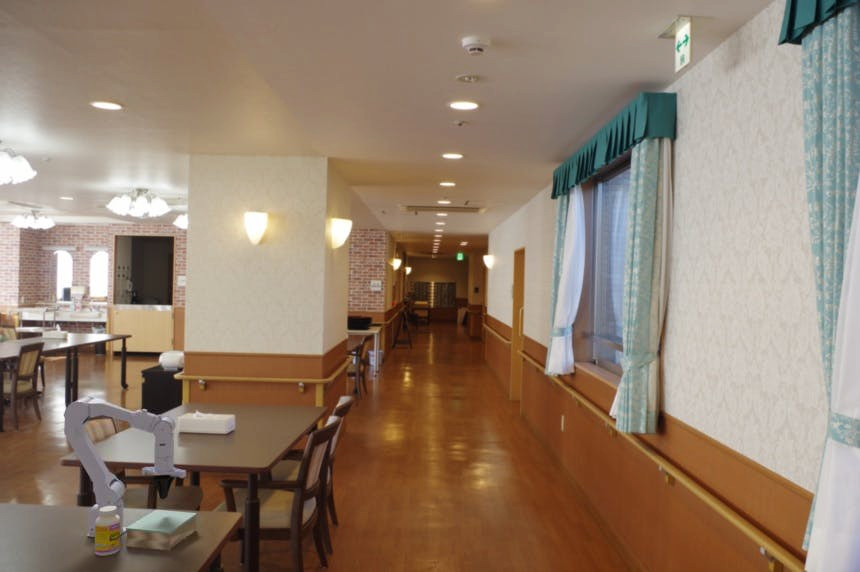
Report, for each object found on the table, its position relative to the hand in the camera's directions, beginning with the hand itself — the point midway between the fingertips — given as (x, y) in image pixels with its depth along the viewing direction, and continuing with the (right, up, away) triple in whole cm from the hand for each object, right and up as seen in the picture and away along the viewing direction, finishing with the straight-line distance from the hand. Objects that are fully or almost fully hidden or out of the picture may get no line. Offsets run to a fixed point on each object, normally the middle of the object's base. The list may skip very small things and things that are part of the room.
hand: (163, 498), depth 204 cm
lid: (+2, -5, -6) cm, 9 cm away
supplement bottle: (-10, -11, -16) cm, 22 cm away
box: (+2, -11, -6) cm, 12 cm away
